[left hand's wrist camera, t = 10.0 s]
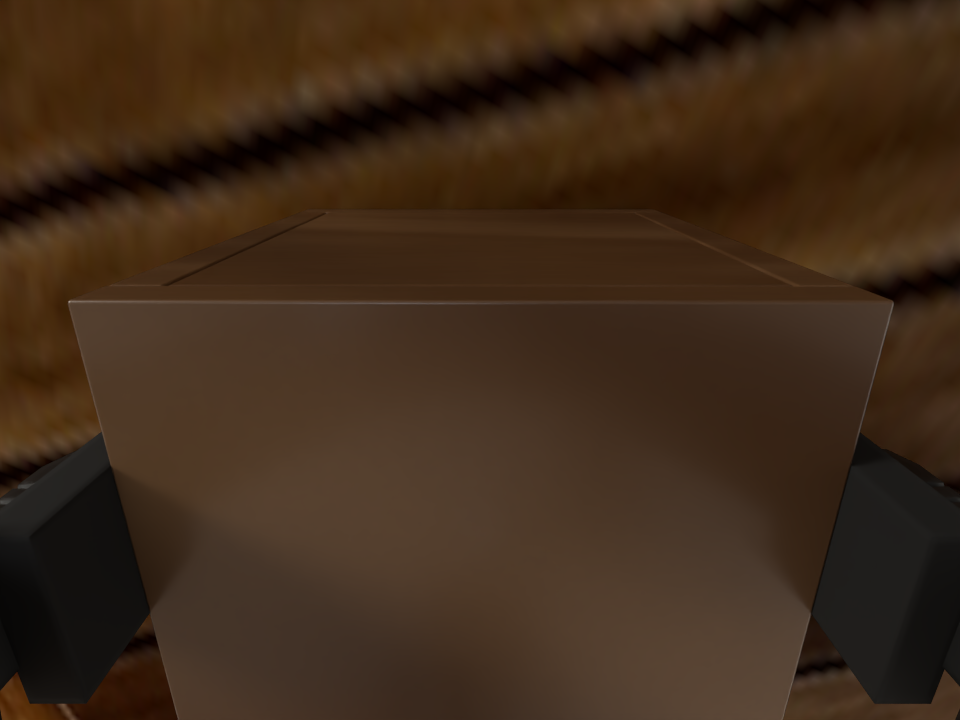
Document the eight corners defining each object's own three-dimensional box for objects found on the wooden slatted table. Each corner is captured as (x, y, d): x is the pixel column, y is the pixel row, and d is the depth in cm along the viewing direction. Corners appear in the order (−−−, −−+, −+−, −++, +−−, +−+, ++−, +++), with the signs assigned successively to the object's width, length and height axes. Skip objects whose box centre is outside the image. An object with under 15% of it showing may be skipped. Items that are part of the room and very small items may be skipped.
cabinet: (603, 687, 24) (690, 1070, 14) (357, 686, 24) (269, 1069, 14) (655, 209, 17) (896, 300, 7) (306, 208, 17) (64, 300, 7)
